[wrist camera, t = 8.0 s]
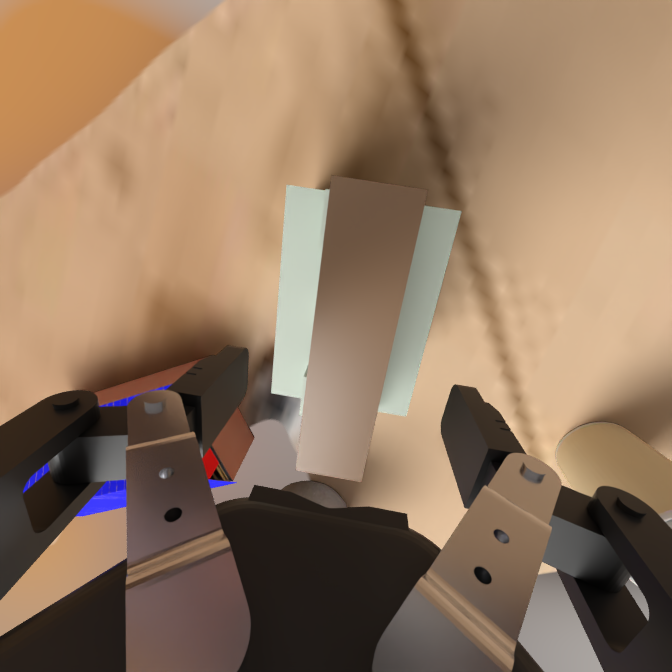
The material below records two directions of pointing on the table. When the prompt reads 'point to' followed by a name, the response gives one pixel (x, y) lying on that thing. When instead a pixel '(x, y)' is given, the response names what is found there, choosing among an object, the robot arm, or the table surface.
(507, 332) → the table surface
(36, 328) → the table surface
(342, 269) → the long beige cuboid
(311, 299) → the stand
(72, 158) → the table surface
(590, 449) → the coffee cup
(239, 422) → the house
